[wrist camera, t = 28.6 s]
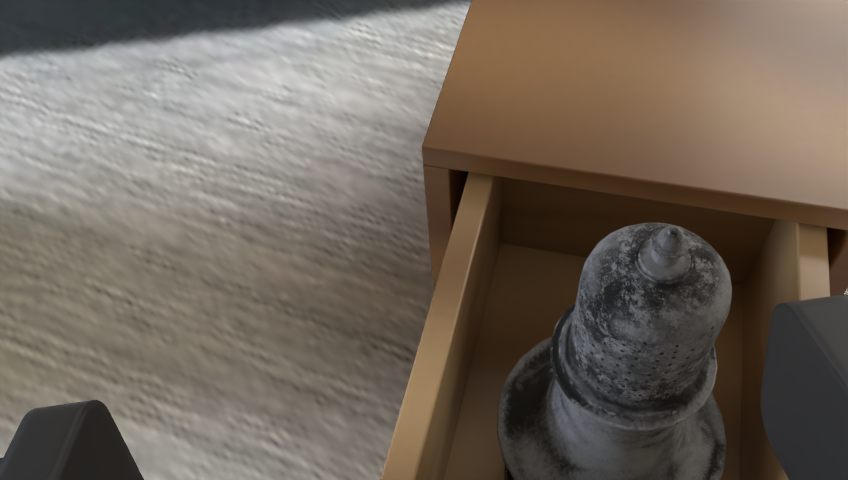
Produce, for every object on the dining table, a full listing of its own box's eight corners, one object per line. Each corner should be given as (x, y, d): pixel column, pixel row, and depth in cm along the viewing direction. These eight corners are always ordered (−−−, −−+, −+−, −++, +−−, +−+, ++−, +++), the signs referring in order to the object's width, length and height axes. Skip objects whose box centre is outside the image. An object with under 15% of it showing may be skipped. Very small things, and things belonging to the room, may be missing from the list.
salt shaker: (734, 537, 22) (933, 318, 13) (538, 607, 21) (588, 432, 12) (639, 359, 26) (737, 79, 16) (467, 414, 25) (459, 154, 15)
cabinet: (790, 371, 27) (897, 218, 20) (434, 304, 30) (421, 147, 23) (785, 67, 36) (859, -112, 29) (511, 34, 38) (518, -139, 31)
